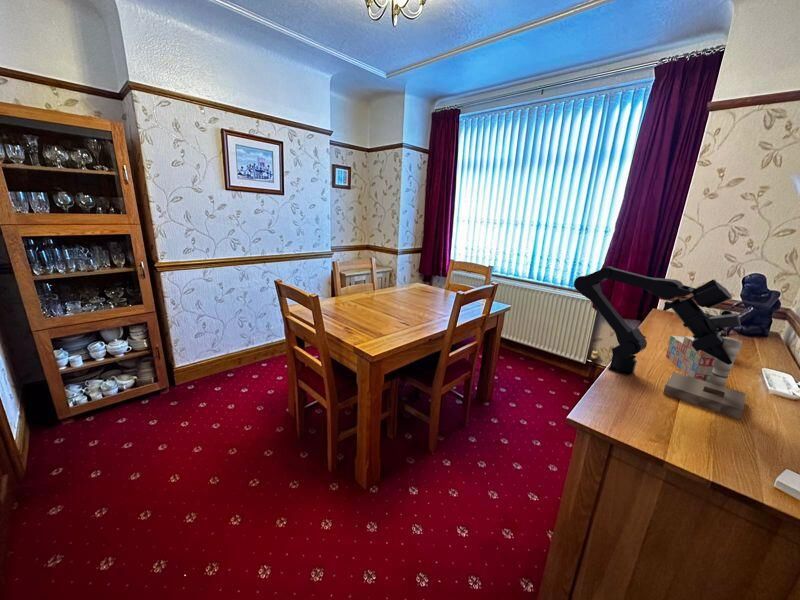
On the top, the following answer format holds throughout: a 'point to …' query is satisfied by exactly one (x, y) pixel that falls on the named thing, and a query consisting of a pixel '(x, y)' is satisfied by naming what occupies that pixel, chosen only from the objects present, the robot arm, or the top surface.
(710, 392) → the gray slotted board
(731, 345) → the ash peg
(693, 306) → the robot arm
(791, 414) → the top surface
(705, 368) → the stack of blocks
